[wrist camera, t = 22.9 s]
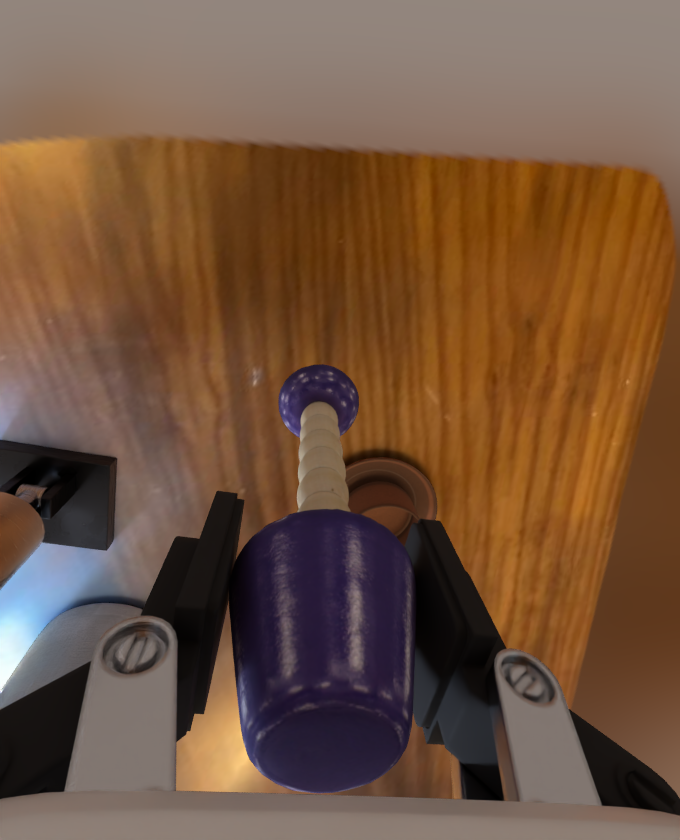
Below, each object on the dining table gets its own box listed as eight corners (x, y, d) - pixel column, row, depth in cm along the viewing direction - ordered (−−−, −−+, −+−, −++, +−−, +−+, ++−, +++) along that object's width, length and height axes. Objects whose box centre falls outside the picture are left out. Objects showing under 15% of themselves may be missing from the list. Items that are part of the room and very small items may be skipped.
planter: (215, 672, 50) (179, 840, 36) (96, 714, 51) (14, 894, 37) (143, 575, 44) (64, 730, 30) (10, 625, 46) (-128, 799, 31)
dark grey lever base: (-1, 439, 38) (-69, 481, 31) (116, 458, 39) (76, 501, 32) (5, 527, 41) (-56, 582, 34) (113, 541, 43) (76, 596, 36)
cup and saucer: (430, 545, 46) (447, 587, 40) (319, 555, 45) (321, 599, 39) (433, 445, 41) (454, 476, 36) (310, 454, 41) (311, 488, 35)
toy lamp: (348, 452, 24) (428, 829, 8) (265, 441, 23) (185, 828, 8) (365, 370, 22) (506, 655, 7) (275, 356, 21) (202, 635, 6)
